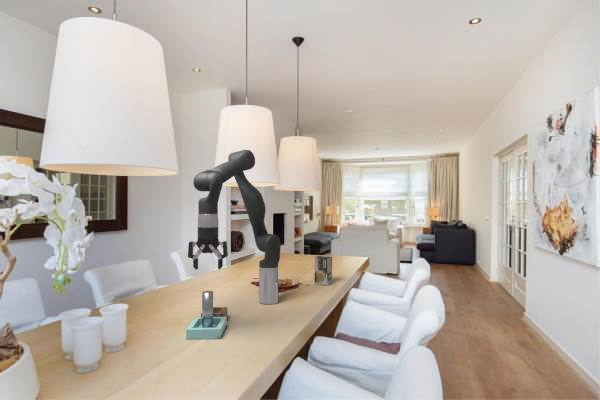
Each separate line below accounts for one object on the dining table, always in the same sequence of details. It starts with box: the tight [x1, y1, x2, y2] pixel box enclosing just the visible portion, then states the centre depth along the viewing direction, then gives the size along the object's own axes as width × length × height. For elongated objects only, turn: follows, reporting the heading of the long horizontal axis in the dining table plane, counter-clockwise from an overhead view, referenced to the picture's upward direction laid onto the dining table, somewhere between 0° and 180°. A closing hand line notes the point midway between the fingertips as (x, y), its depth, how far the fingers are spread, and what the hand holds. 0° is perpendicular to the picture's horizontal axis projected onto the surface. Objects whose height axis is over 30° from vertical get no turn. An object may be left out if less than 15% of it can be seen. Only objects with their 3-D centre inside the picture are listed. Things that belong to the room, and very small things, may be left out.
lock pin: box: [201, 290, 214, 328], centre depth 127 cm, size 4×4×14 cm
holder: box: [200, 306, 228, 318], centre depth 140 cm, size 9×9×4 cm
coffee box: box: [313, 255, 333, 287], centre depth 204 cm, size 9×6×16 cm
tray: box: [185, 316, 228, 341], centre depth 127 cm, size 12×13×4 cm
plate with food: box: [250, 277, 311, 292], centre depth 201 cm, size 25×26×4 cm
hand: (208, 269), depth 127 cm, fingers open, 8 cm apart
